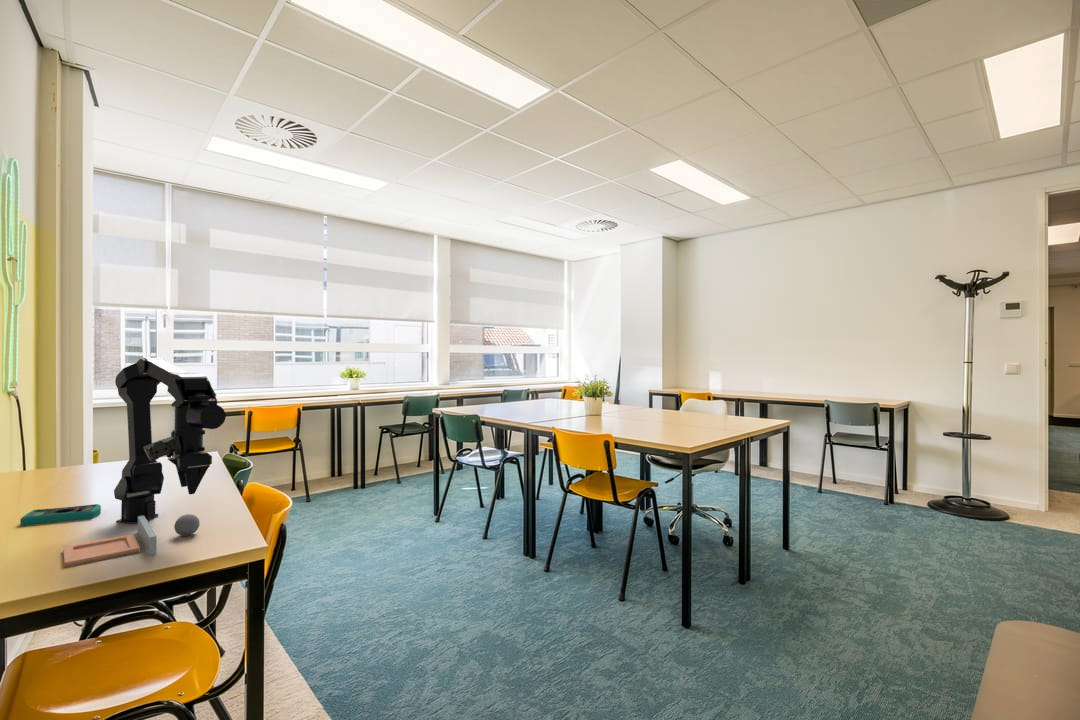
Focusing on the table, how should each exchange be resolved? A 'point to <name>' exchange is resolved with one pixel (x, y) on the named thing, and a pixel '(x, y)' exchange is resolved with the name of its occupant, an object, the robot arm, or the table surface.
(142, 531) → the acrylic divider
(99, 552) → the pad
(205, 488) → the table surface
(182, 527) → the rubber ball
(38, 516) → the digital multimeter
